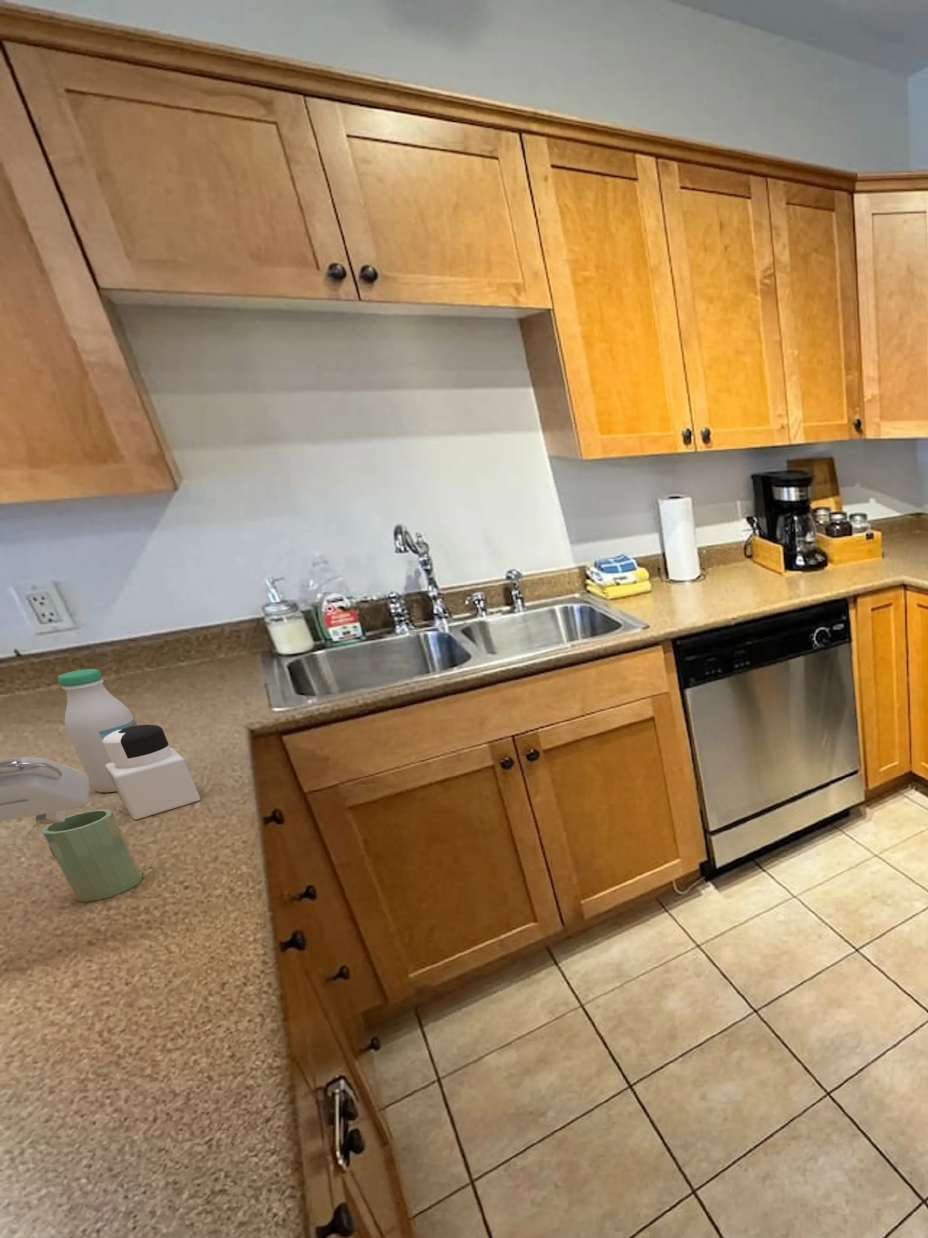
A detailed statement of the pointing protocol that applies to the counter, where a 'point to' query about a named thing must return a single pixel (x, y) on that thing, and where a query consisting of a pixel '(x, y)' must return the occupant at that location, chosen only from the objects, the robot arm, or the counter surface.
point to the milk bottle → (92, 722)
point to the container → (148, 771)
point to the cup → (92, 855)
